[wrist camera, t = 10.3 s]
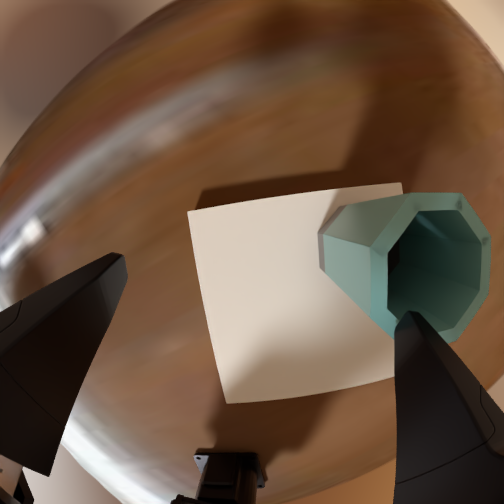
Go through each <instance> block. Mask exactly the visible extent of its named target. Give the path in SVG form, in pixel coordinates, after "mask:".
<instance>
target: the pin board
mask: <svg viewBox="0 0 504 504" xmlns="http://www.w3.org/2000/svg"><path fill="white" fill-rule="evenodd" d="M401 194H403V190H402V184H401V182H400V183H389V184H378V185H367V186H358V187H348V188H339V189H331V190H323V191H315V192H307V193H299V194H292V195H285V196H278V197H271V198H265V199H258V200H252V201H245V202H239V203H233V204H227V205H222V206H216V207H210V208H205V209H199V210H194V211H189V212H188V218H189V225H190V231H191V237H192V243H193V249H194V255H195V261H196V267H197V272H198V278H199V283H200V288H201V293H202V298H203V303H204V308H205V313H206V318H207V323H208V328H209V332H210V337H211V341H212V346H213V350H214V355H215V359H216V363H217V367H218V372H219V376H220V380H221V384H222V388H223V392H224V396H225V399H226V403H227V404H229V403H245V402H258V401H268V400H278V399H286V398H294V397H301V396H307V395H314V394H319V393H325V392H331V391H336V390H341V389H346V388H350V387H355V386H359V385H363V384H368V383H372V382H376V381H379V380H383V379H387V378H391V377H394V340H393V339H392V338H391V337H390V336H389V335H388V334H387V333H386V332H385V331H384V330H383V329H381V328H380V327H379V326H378V325H377V324H376V323H375V322H374V321H373V320H372V319H371V318H370V317H369V316H368V315H367V314H366V313H365V312H364V311H363V310H362V309H361V308H360V307H359V306H358V305H357V304H356V303H355V302H354V301H353V300H352V299H351V298H350V297H349V296H348V295H347V294H346V293H345V292H344V291H343V290H342V289H341V288H340V287H339V286H338V285H337V284H336V283H335V282H334V281H333V280H332V279H330V278H329V277H328V276H327V275H326V274H325V273H324V272H323V271H322V270H321V269H320V268H319V250H318V235H317V233H318V231H319V230H320V229H321V228H322V227H323V225H324V224H325V223H326V222H327V221H328V219H329V218H330V217H331V216H332V215H333V213H334V212H335V211H336V210H337V208H338V207H339V206H343V205H348V204H353V203H358V202H364V201H369V200H374V199H379V198H385V197H390V196H395V195H401ZM387 258H388V253H387Z"/></svg>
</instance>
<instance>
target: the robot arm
mask: <svg viewBox="0 0 504 504" xmlns="http://www.w3.org/2000/svg"><path fill="white" fill-rule="evenodd" d="M127 278H128V274H127V268H126V262H125V257H124V255H122V254H119V253H114V252H111V253H109V254H107V255H105V256H103V257H101V258H99V259H97V260H95V261H93V262H91V263H89V264H87V265H85V266H83V267H81V268H79V269H77V270H75V271H73V272H72V273H70V274H68V275H66V276H64V277H62V278H60V279H58V280H56V281H55V282H53V283H51V284H49V285H47V286H45V287H44V288H42V289H40V290H38V291H36V292H35V293H33V294H31V295H29V296H27V297H26V298H24V299H23V300H20V301H19V302H17V303H15V304H14V305H12V306H10V307H8V308H7V309H5V310H3V311H1V312H0V504H33V502H34V498H33V496H32V493H31V491H30V488H29V486H28V483H27V481H26V478H25V475H24V473H23V470H22V468H23V466H24V467H26V468H28V469H31V470H33V471H35V472H38V473H40V474H42V475H45V476H47V477H49V475H50V473H51V469H52V466H53V463H54V460H55V456H56V453H57V450H58V447H59V444H60V441H61V438H62V435H63V432H64V430H65V426H66V424H67V421H68V418H69V416H70V413H71V410H72V408H73V405H74V403H75V400H76V398H77V395H78V393H79V390H80V388H81V386H82V383H83V381H84V378H85V376H86V374H87V372H88V369H89V367H90V365H91V363H92V360H93V358H94V356H95V354H96V352H97V350H98V348H99V345H100V343H101V341H102V339H103V337H104V335H105V333H106V331H107V329H108V327H109V325H110V323H111V320H112V318H113V316H114V313H115V310H116V308H117V305H118V303H119V300H120V297H121V295H122V292H123V290H124V287H125V285H126V283H127ZM394 378H395V393H396V416H397V455H396V477H395V489H394V499H393V504H504V413H503V411H501V409H500V408H499V407H498V406H497V404H496V403H495V402H494V400H493V399H492V398H491V397H490V395H489V394H488V393H487V392H486V390H485V389H484V388H483V386H482V385H480V382H479V381H478V380H477V379H476V377H475V376H474V375H473V374H472V372H471V371H470V370H469V369H468V367H467V366H466V365H465V364H464V363H463V361H462V360H461V359H460V358H459V357H458V355H457V354H456V353H455V352H454V351H453V350H452V348H451V347H450V346H449V345H448V344H447V343H446V341H445V340H444V339H443V338H442V337H441V336H440V335H439V333H438V332H437V331H436V330H435V329H434V328H433V327H432V326H431V325H430V323H429V322H428V321H427V320H426V319H425V318H424V317H423V316H422V315H421V314H420V313H419V312H417V311H411V310H408V311H407V312H405V314H404V315H403V317H402V318H401V320H400V321H399V323H398V324H397V325H396V327H395V330H394ZM194 459H195V462H196V464H197V466H198V468H199V470H200V472H201V474H202V475H201V479H200V482H199V486H198V489H197V493H196V496H195V499H193V498H189V497H184V495H180V494H178V495H177V497H176V499H174V500H172V501H171V503H170V504H256V492H257V488H264V487H265V482H264V478H263V474H262V470H261V466H260V463H259V458H258V455H257V454H256V453H195V455H194Z"/></svg>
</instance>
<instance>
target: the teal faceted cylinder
mask: <svg viewBox="0 0 504 504" xmlns="http://www.w3.org/2000/svg"><path fill="white" fill-rule="evenodd" d="M317 235H318V250H319V268H320V269H321V270H322V271H323V272H324V273H325V274H326V275H327V276H328V277H329V278H330V279H332V280H333V281H334V282H335V283H336V284H337V285H338V286H339V287H340V288H341V289H342V290H343V291H344V292H345V293H346V294H347V295H348V296H349V297H350V298H351V299H352V300H353V301H354V302H355V303H356V304H357V305H358V306H359V307H360V308H361V309H362V310H363V311H364V312H365V313H366V314H367V315H368V316H369V317H370V318H371V319H372V320H373V321H374V322H375V323H376V324H377V325H378V326H379V327H380V328H381V329H383V330H384V331H385V332H386V333H387V334H388V335H389V336H390V337H391V338H392V339H393V340H394V330H395V327H396V325H397V324H398V323H399V321H400V320H401V318H402V317H403V315H404V314H405V312H407V311H408V310H411V311H417V312H419V313H420V314H421V315H422V316H423V317H424V318H425V319H426V320H427V321H428V322H429V323H430V325H431V326H432V327H433V328H434V329H435V330H436V331H437V332H438V333H439V335H440V336H441V337H442V338H443V339H444V340H445V341H446V343H451V342H454V341H456V340H457V339H458V338H459V336H460V335H461V334H462V332H463V331H464V330H465V328H466V327H467V326H468V324H469V323H470V321H471V320H472V319H473V317H474V316H475V314H476V313H477V311H478V310H479V308H480V307H481V305H482V304H483V302H484V301H485V299H486V297H487V296H488V292H489V280H490V263H491V236H490V234H489V232H488V231H487V229H486V228H485V226H484V225H483V223H482V222H481V220H480V219H479V217H478V216H477V214H476V213H475V211H474V210H473V208H472V207H471V206H470V204H469V203H468V201H467V200H466V199H465V197H464V196H463V195H462V193H406V194H401V195H395V196H390V197H385V198H379V199H374V200H369V201H364V202H358V203H353V204H348V205H343V206H339V207H338V208H337V210H336V211H335V212H334V213H333V215H332V216H331V217H330V218H329V219H328V221H327V222H326V223H325V224H324V225H323V227H322V228H321V229H320V230H319V231H318V233H317ZM387 253H388V258H387Z"/></svg>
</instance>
